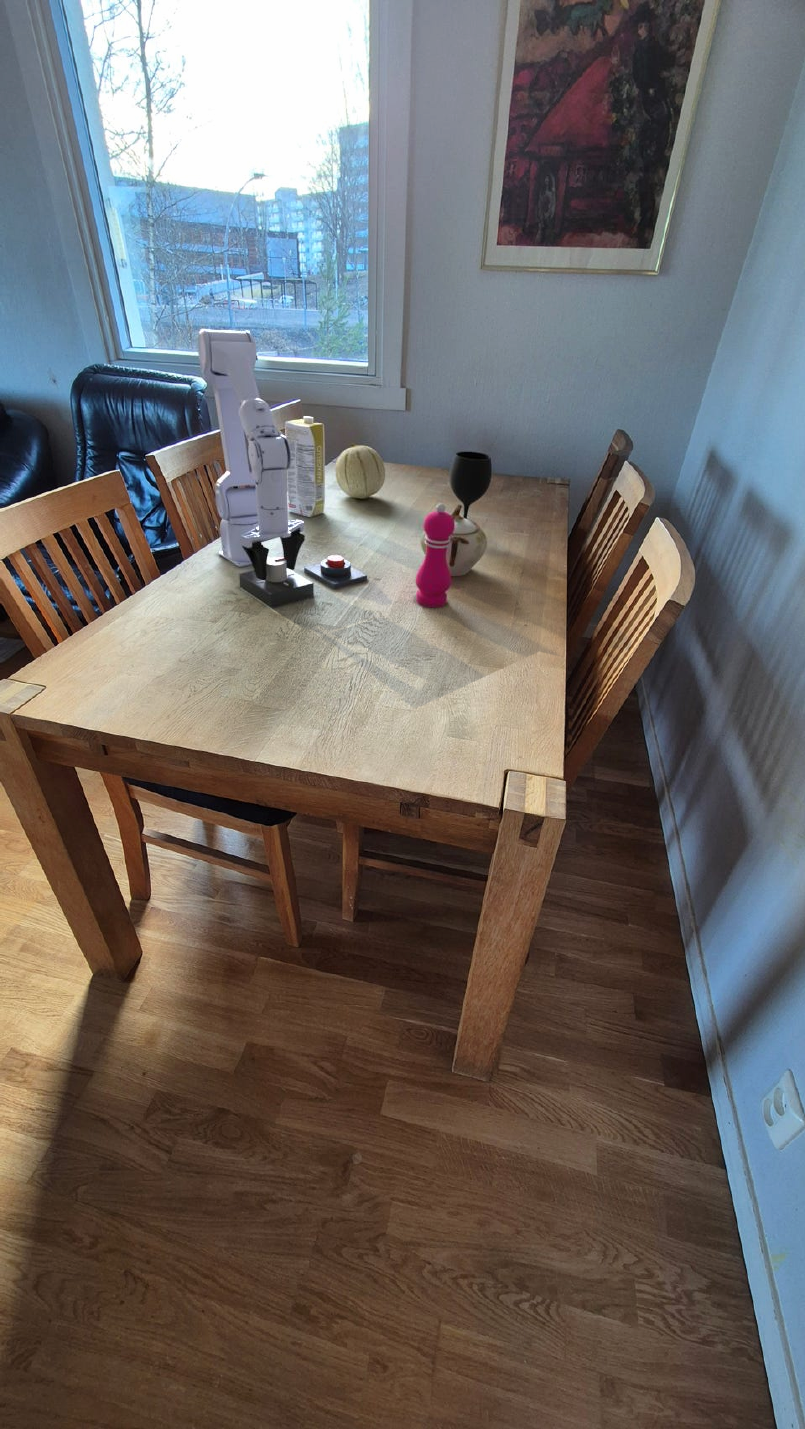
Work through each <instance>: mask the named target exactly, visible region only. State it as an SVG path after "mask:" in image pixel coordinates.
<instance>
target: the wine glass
mask: <svg viewBox="0 0 805 1429" xmlns="http://www.w3.org/2000/svg"><path fill="white" fill-rule="evenodd" d="M492 473H493V469H492V458H491V455H489V454H486V453H482V452H479V451H469V450H468V451H466V450H465V451H464V450H463V451H458V452H456V453H455V454H454V456H453V460H452V463H451V466H450V471H449V486H450V488H451V490H452V493H453V495H455V497H456V498H457V499H458V501H460V502H461V503H462V505H463V517H462V518H465V519H468V513H469V508H470V506H471V505H472V504H474V503H476V502H477V501H478V500H480V499H481V498H482V497H483V496H484V495H485V494H486V492H487V491H488V489H489V487H490V484H491V481H492Z"/></svg>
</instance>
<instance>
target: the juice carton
mask: <svg viewBox="0 0 805 1429" xmlns="http://www.w3.org/2000/svg"><path fill="white" fill-rule="evenodd" d="M284 425H285V426H284V428H285V429H284V431H285V432H284V436H285V437H286V438H287V440H288V443H289V446H290V451H291V465H290V468H289V469H288V470H286V478H287V504H288V512H290V513H293V514H297V515H300V516H304V517H307V518H312V517H316V516H318V515H321V514H324V512H325V505H326V447H325V446H326V444H325V443H326V442H325V441H326V440H325V439H326V438H325V437H326V435H325V425H324V423H319V422H314V417H313V416H307V415H306V416H305V415H304V416H303V418H300V419H293V420H292V419H291V420H287V421H285V424H284Z"/></svg>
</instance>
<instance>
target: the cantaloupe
mask: <svg viewBox="0 0 805 1429" xmlns="http://www.w3.org/2000/svg"><path fill="white" fill-rule="evenodd" d="M349 446H350V447H348V448H346V449H344V450H343V451H342V452H340V454H339V455H338V456H337V460H336V463H335V468H334V471H335V478H336V482H337V484H338V486H339V488H340V490H341V491H342V492H343V493H344V494H346V496H349V497H351V498H355V499H359V500H361V499H363V500H364V499H365V500H366V499H368V498H369V497H372V496H373V495H376V494H378V493H379V491H381V489H382V487H383V486H384V483H385V481H386V468H385V463H384V462H383V460H382V457H381V455H380V454H379V453H378V451H376V450H375V449H373V448H372V447H370V446H367V445H357V444H356V443H354V442H350V443H349Z"/></svg>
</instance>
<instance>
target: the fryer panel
mask: <svg viewBox="0 0 805 1429" xmlns="http://www.w3.org/2000/svg"><path fill="white" fill-rule="evenodd" d="M238 578H239V587H240V589H242V590H243V591H245V592H246V593H248V594H250V595H251V596H252V597H253V598H255V599H257V600H258V601H260V602H261V603H262V604H264V605H266V606H267V607H269V608H270V609H273V608H277V607H281V606H284V605H288V604H291V603H294V602H298V601H302V600H306V599H310V598H313V597H315V595H314V593H315V592H314V591H315V590H314V587H315V586H314V582H312V581H311V580H309V579H308V578H306V577H304V576H302V575H301V574H299V573H297V572H295V571H294V570H290V569H288V568H287V579H286V580H285V581H282V582H270V581H267V580H261V579H259V578H257V577H256V573H255V570H254V569H253V570H248V571H245V572H241V573H238Z"/></svg>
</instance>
